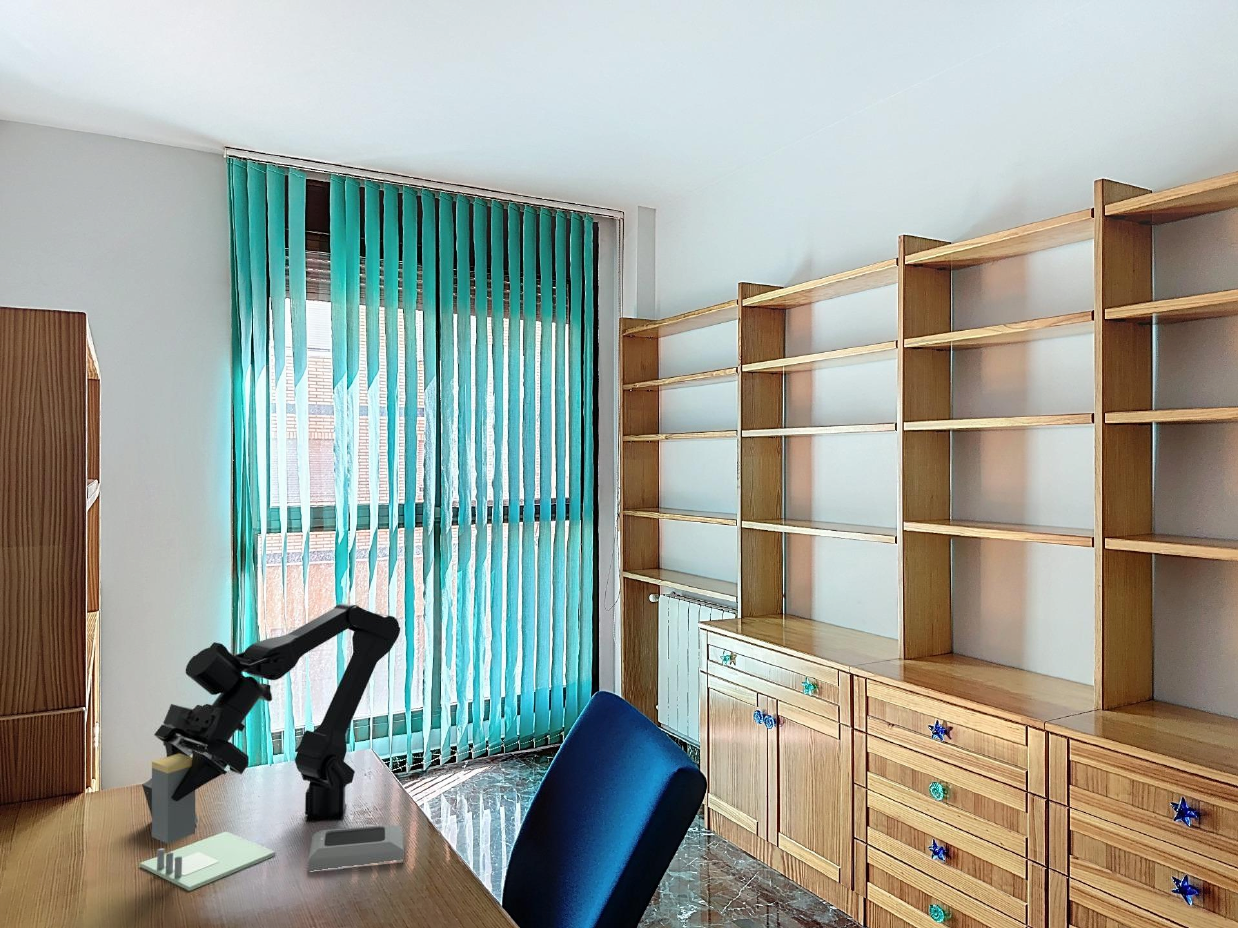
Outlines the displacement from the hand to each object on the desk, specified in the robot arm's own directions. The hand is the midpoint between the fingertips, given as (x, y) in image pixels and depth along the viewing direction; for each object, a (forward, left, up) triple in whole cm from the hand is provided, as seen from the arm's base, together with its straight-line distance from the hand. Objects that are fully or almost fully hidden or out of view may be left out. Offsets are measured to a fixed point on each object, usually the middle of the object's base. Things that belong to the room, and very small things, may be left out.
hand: (165, 796), depth 137 cm
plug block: (-1, -1, -7) cm, 7 cm away
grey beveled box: (-29, -4, -14) cm, 32 cm away
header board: (-5, -5, -13) cm, 15 cm away
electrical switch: (+5, -22, -13) cm, 26 cm away
